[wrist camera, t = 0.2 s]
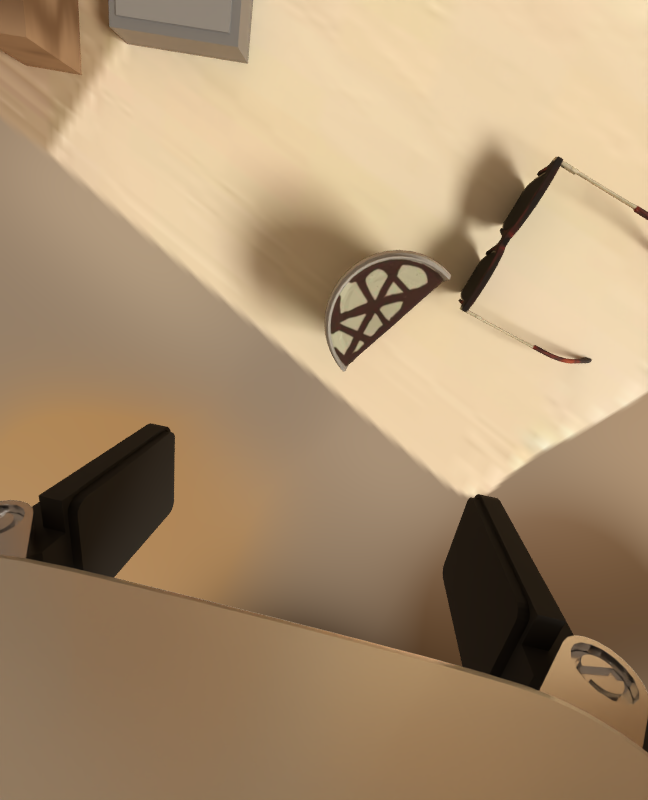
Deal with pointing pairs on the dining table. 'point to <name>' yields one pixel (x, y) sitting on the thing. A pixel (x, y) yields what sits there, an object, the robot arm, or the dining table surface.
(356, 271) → the food container
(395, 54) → the dining table surface
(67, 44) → the cube
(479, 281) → the sunglasses
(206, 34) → the tray
